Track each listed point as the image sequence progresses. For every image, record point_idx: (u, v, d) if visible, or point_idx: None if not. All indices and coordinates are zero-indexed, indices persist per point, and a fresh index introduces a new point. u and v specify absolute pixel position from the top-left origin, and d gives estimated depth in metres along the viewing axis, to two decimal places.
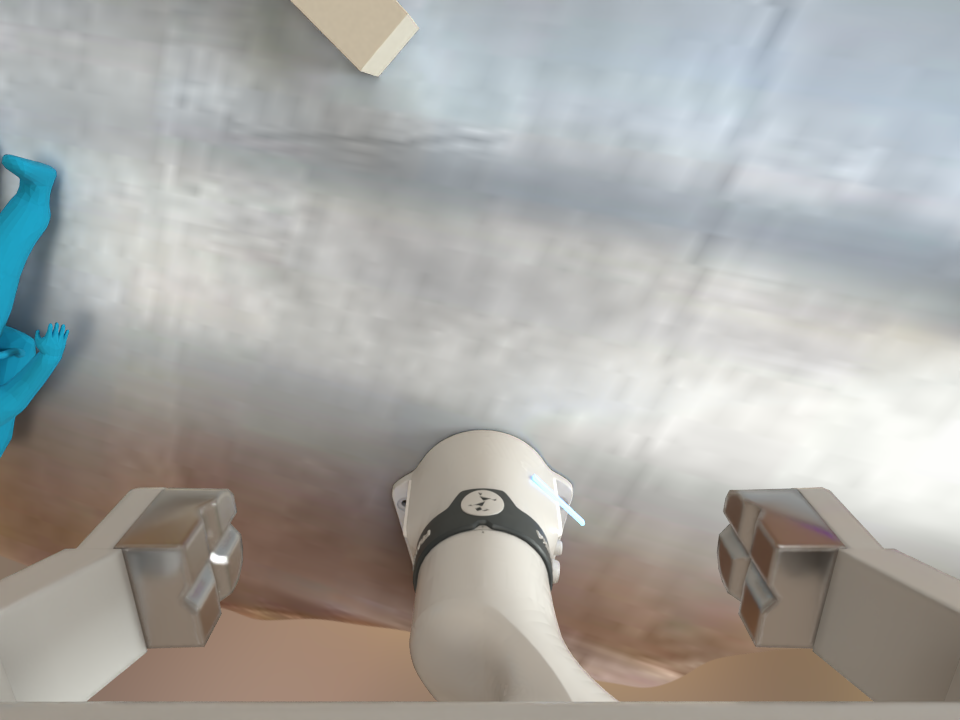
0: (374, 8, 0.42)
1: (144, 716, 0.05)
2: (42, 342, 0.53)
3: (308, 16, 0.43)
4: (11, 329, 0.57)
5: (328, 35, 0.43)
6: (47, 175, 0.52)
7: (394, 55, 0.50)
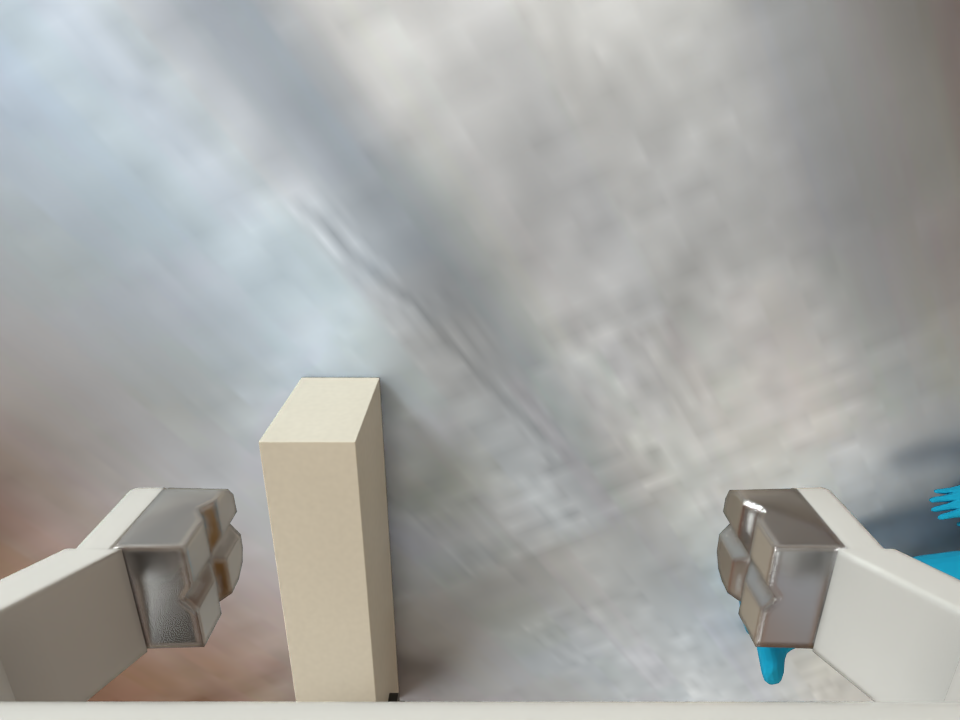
0: (288, 472, 0.33)
1: (144, 717, 0.05)
2: None
3: (358, 518, 0.34)
4: None
5: (356, 491, 0.33)
6: None
7: (342, 383, 0.39)
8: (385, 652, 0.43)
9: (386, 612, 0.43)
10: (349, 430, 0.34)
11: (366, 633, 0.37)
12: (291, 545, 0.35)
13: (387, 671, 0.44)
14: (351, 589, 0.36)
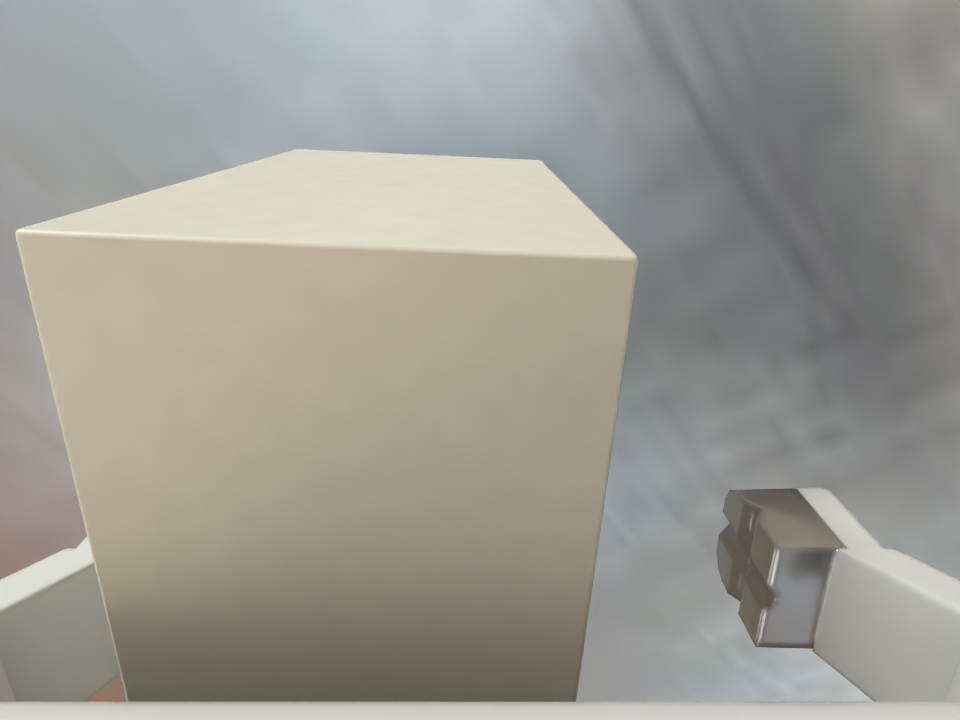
0: (212, 436, 0.06)
1: (144, 716, 0.05)
2: None
3: (566, 680, 0.07)
4: None
5: (580, 554, 0.06)
6: None
7: (432, 158, 0.12)
8: None
9: None
10: (556, 224, 0.06)
11: None
12: None
13: None
14: None
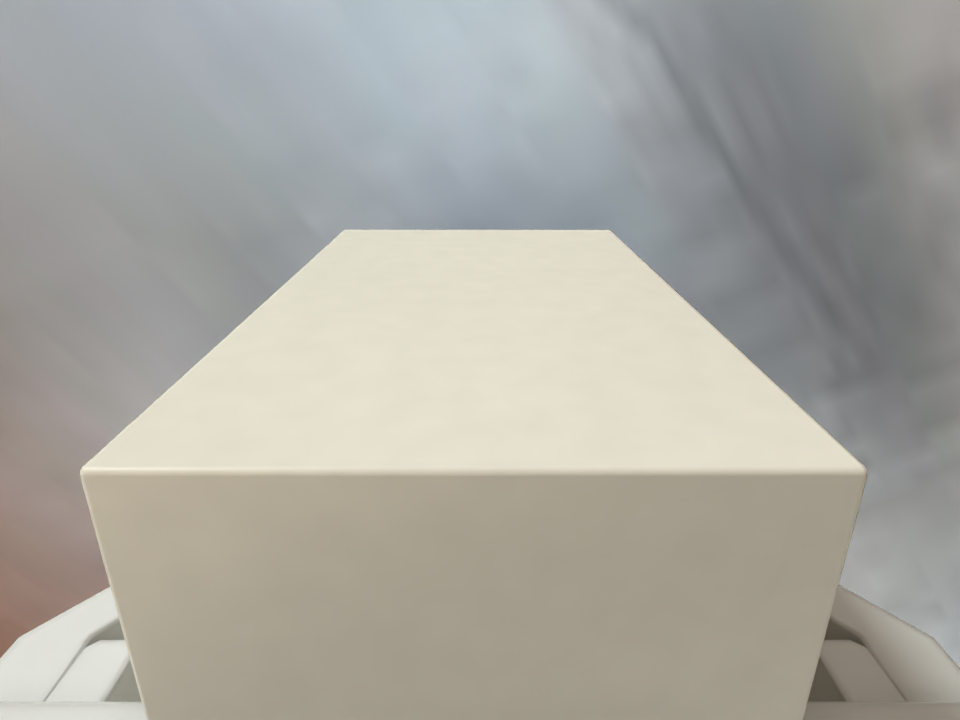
0: (317, 685, 0.05)
1: (144, 716, 0.05)
2: None
3: None
4: None
5: None
6: None
7: (496, 238, 0.11)
8: None
9: None
10: (717, 388, 0.05)
11: None
12: None
13: None
14: None
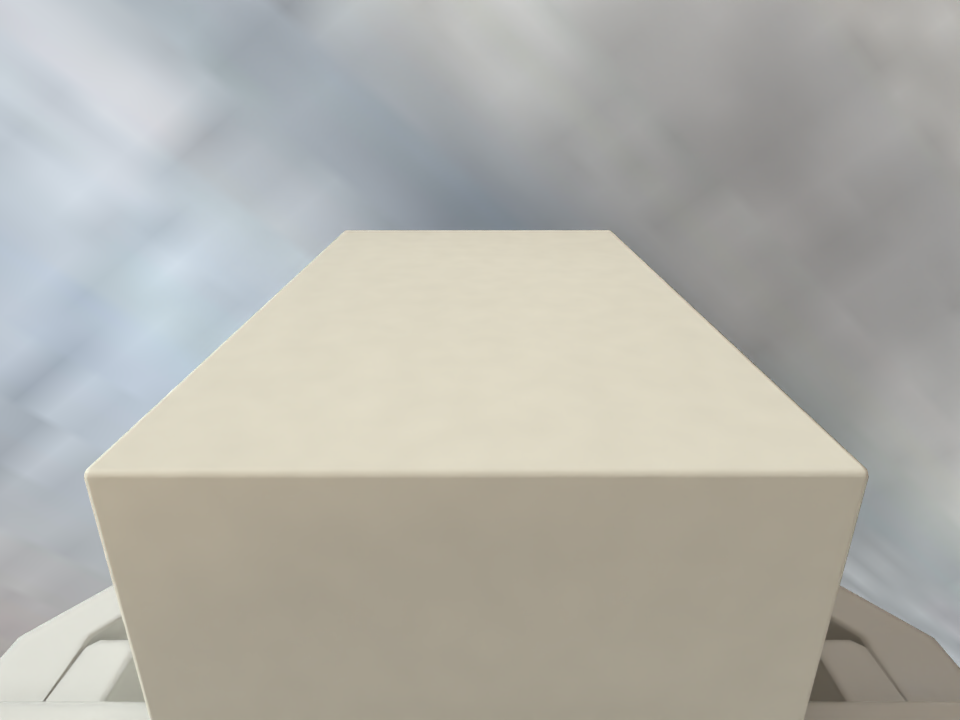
0: (321, 685, 0.05)
1: (144, 716, 0.05)
2: None
3: None
4: None
5: None
6: None
7: (497, 239, 0.11)
8: None
9: None
10: (718, 389, 0.05)
11: None
12: None
13: None
14: None
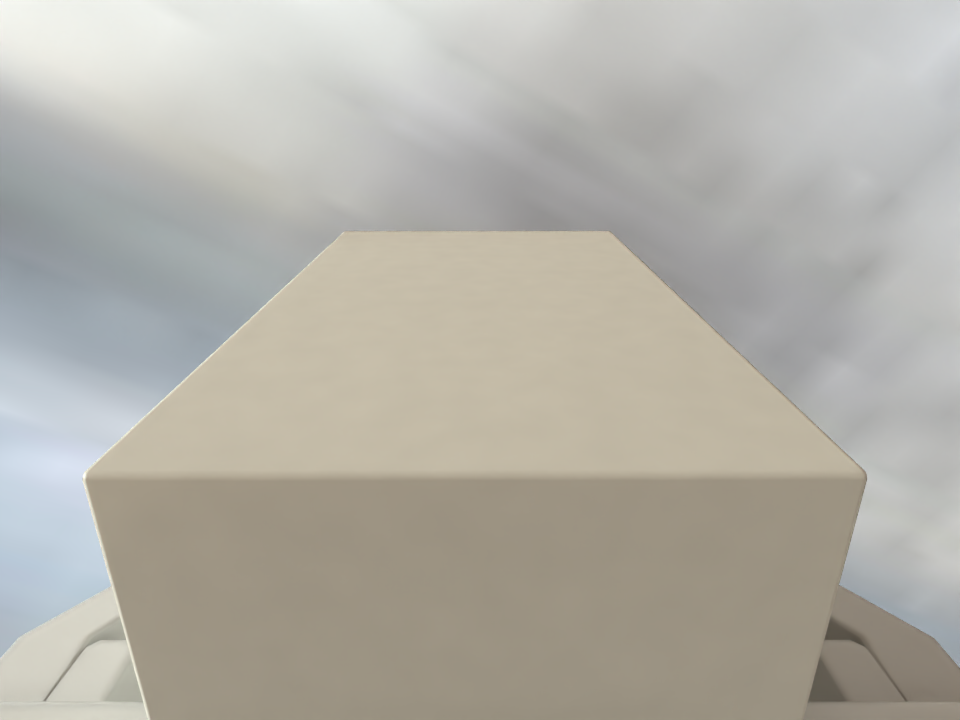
0: (319, 686, 0.05)
1: (144, 716, 0.05)
2: None
3: None
4: None
5: None
6: None
7: (496, 239, 0.11)
8: None
9: None
10: (717, 391, 0.05)
11: None
12: None
13: None
14: None
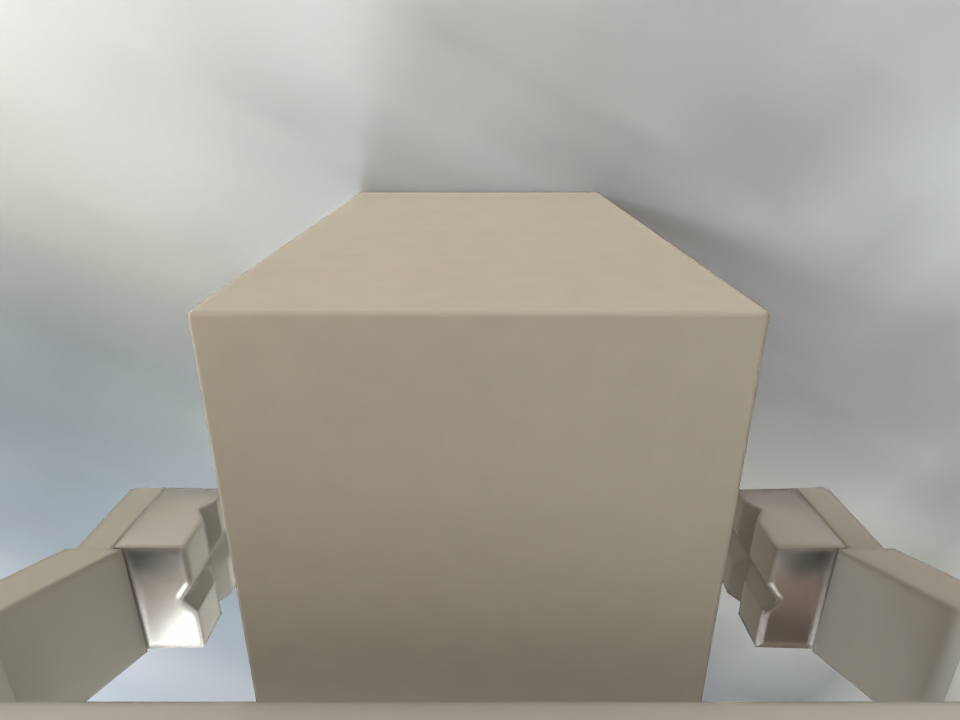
0: (358, 493, 0.06)
1: (144, 717, 0.05)
2: None
3: None
4: None
5: (704, 591, 0.06)
6: None
7: (496, 197, 0.12)
8: None
9: None
10: (668, 275, 0.06)
11: None
12: None
13: None
14: None
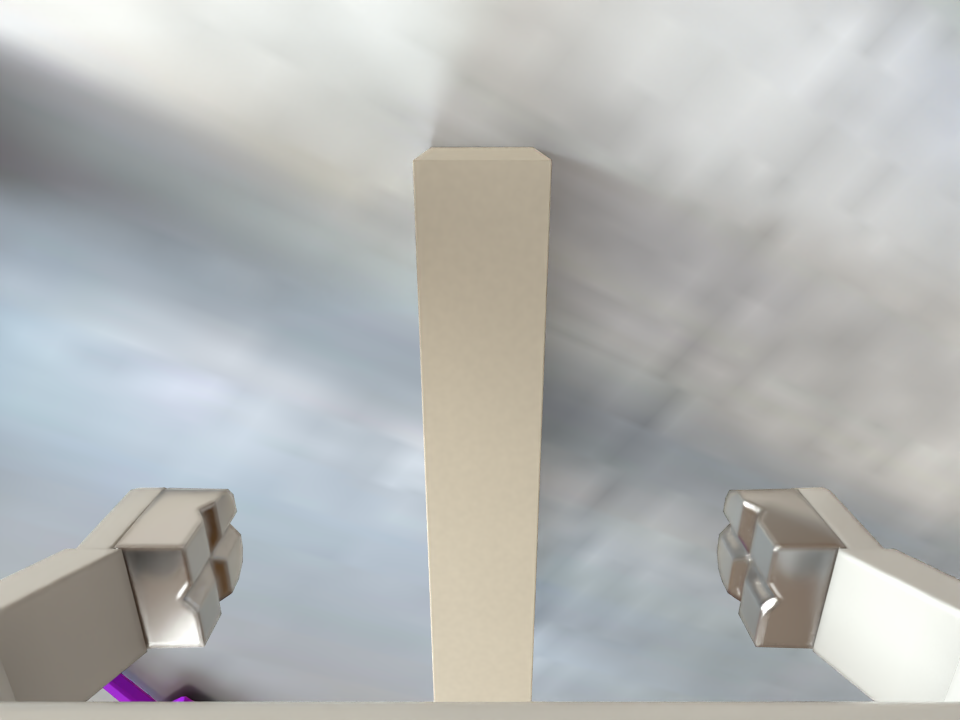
0: (451, 211, 0.23)
1: (144, 717, 0.05)
2: None
3: (542, 287, 0.24)
4: None
5: (544, 243, 0.24)
6: None
7: (489, 148, 0.29)
8: None
9: None
10: (534, 157, 0.24)
11: (534, 470, 0.27)
12: (445, 331, 0.25)
13: None
14: (521, 401, 0.26)
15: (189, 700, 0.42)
